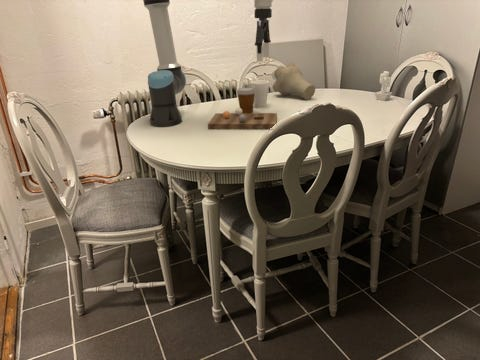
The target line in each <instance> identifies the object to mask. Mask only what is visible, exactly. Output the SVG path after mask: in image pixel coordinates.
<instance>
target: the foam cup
mask: <svg viewBox="0 0 480 360" xmlns="http://www.w3.org/2000/svg"><path fill="white" fill-rule="evenodd" d="M269 86H270V82H269V81H268V80H263V79H262V80H261V79H260V80H252V81H250V87H251V88H254V89H255V91H256V92H255V94H254V105H253V108H257V109H258V108H259V109H260V108H261V109H263V108H266V107H267V101H268V93H269Z"/></svg>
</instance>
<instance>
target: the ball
mask: <svg viewBox="0 0 480 360" xmlns="http://www.w3.org/2000/svg"><path fill="white" fill-rule="evenodd" d="M222 113H223V117H224V118H229V117H230V113H231V112H230V111H228V110H225V111H223V112H222Z"/></svg>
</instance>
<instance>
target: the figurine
mask: <svg viewBox="0 0 480 360" xmlns="http://www.w3.org/2000/svg"><path fill="white" fill-rule="evenodd" d="M389 75H390V71H386V70H385V71H383V72H382V73H380V75H379V84H380V85H381V89H380V90H379V91H377V92H374V93H373V94H374V97H375V98H376V100H378V101H387V100H389V99H390V97H391V96H392V95H393V93H394V92H393V91H392V92H391V91H388V90H387V89H388V88H390V87H391V81H392V80H391V77H390V76H389Z"/></svg>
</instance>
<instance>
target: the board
mask: <svg viewBox="0 0 480 360" xmlns="http://www.w3.org/2000/svg"><path fill="white" fill-rule="evenodd" d="M229 113H230V117H229V118H224V117H223V112H220V113H218V112H217V113H214V115H212V117H211V118H210V120H209V121H208V123H207V128H208V129H207V130H271V129H270V128H272V127H273V126H274V125H275V124H276V125H277V121H278V113H277V112H263V113H262V112H253V113H242V114H243V115H245V117H246V120H245V121H244V122H240V121H239V120H238V117H239V115H237V114H236V113H235V112H233V113H232V112H229Z"/></svg>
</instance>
